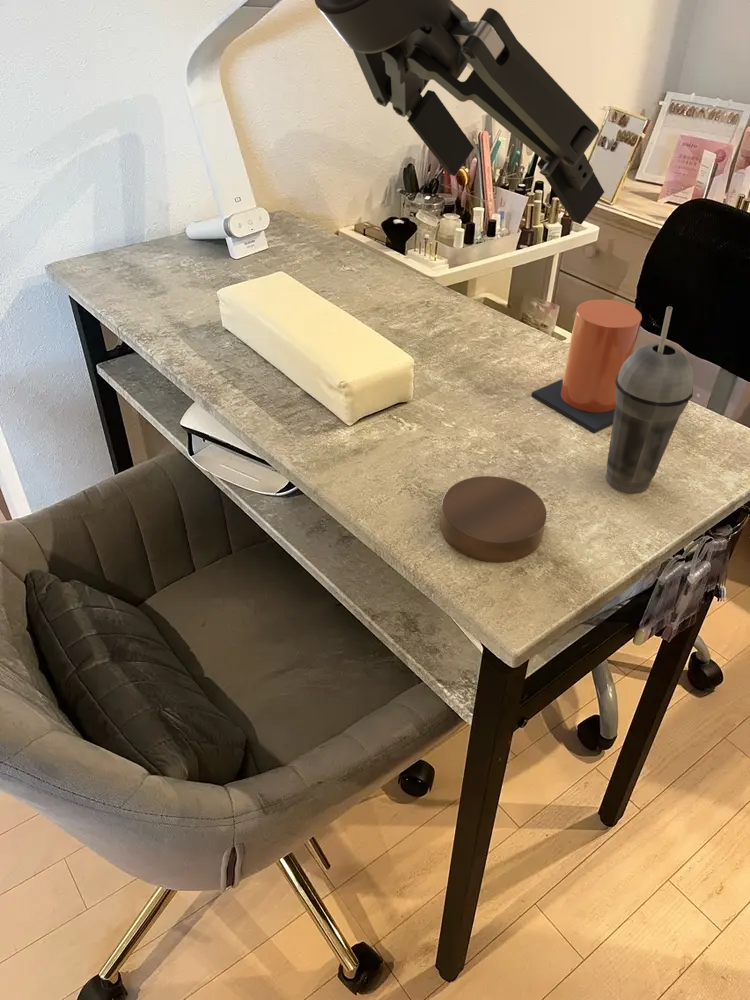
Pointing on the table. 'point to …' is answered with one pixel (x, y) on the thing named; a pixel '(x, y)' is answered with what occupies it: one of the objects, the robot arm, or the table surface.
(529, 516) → the saucer
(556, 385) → the mat
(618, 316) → the terracotta cylinder
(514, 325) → the table surface
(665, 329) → the beverage cup
